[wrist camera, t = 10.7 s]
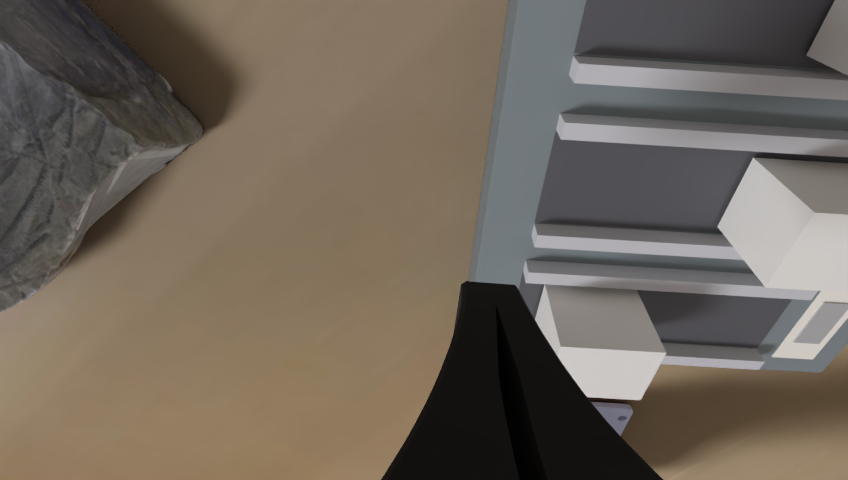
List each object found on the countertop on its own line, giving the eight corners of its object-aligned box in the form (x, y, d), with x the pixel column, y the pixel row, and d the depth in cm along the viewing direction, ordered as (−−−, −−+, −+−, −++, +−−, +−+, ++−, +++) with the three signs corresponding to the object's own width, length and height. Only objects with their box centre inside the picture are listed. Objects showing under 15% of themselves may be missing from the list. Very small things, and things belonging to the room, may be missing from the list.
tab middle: (818, 232, 19) (884, 294, 16) (717, 226, 19) (765, 287, 16) (865, 164, 17) (949, 221, 14) (753, 157, 17) (814, 212, 14)
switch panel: (797, 342, 26) (831, 386, 23) (462, 322, 25) (464, 364, 23) (1166, -129, 14) (1309, -131, 11) (533, -171, 13) (552, -181, 11)
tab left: (616, 336, 23) (640, 400, 20) (531, 330, 23) (544, 394, 20) (636, 289, 21) (666, 352, 18) (544, 283, 21) (560, 346, 18)
